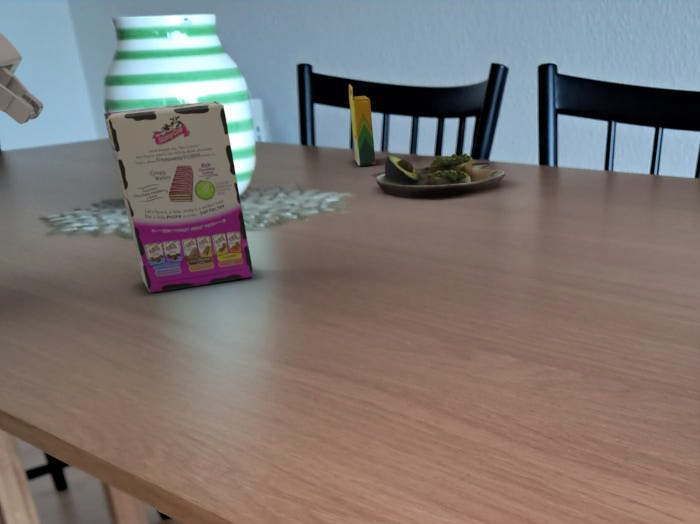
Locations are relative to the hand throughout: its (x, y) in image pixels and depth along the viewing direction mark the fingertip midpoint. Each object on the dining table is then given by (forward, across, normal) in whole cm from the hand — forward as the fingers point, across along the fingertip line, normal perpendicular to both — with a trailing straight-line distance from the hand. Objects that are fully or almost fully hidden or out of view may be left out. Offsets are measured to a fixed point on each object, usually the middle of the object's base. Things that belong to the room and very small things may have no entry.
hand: (34, 115), depth 97 cm
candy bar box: (+20, 0, +3) cm, 21 cm away
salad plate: (+41, +46, -18) cm, 64 cm away
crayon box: (+34, +75, -11) cm, 83 cm away
